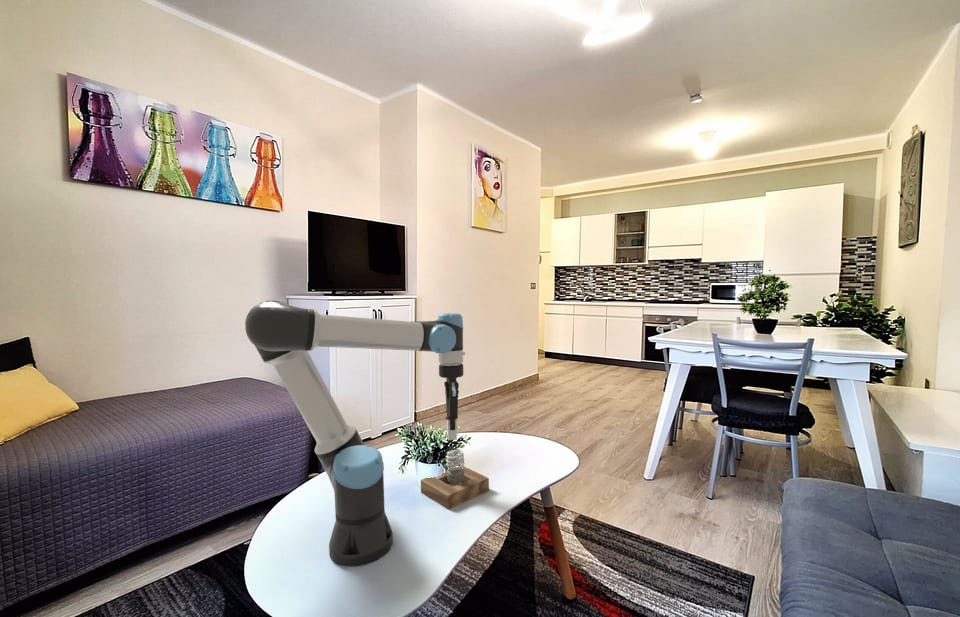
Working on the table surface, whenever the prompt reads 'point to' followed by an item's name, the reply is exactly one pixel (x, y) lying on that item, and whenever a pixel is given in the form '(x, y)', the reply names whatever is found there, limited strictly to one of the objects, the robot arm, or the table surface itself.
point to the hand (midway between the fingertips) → (452, 439)
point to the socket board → (454, 488)
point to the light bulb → (455, 473)
